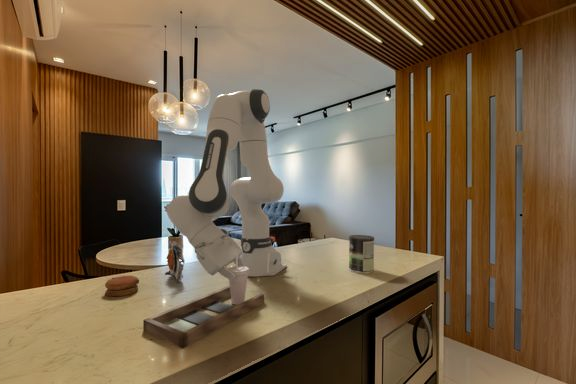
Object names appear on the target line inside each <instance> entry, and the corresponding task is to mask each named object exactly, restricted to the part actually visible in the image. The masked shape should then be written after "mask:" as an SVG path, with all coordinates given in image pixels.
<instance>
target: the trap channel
mask: <svg viewBox="0 0 576 384" xmlns="http://www.w3.org/2000/svg"><path fill="white" fill-rule="evenodd" d="M230 296H231V293H230V285H228V286H225V287H222V288H220V289H217V290H215V291H212V292H210V293H208V294H205V295H202V296H200V297H197V298H195V299H193V300H190V301H187V302H185V303H182V304H180V305H178V306H175V307H172V308H170V309H167V310H165V311H162V312H160V313H158V314H155V315H153V316H150V317H146V318H145V319H143V328H142V329H143V332H145V333H147V334H150V335H151V336H154V337H156V338H158V339H160V340H163V341H165V342H167V343H170V344H171V345H174V346H175V347H178V348H180V349H185V348H186V347H188V346H189V345H190V346H191V345H192V344H193V343H195V342H197V341H199V340H200V339H202V338H204V337H206V336H208V335H209V334H211V333H213V332H214V331H216V330H219V329H220V328H222V327H225V326H226V325H227V324H229V323H231V322H232V321H234V320H236V319H238V318H240V317H241V316H243V315H245V314H246V313H249V312H250V311H252V310H254V309H256V308H257V307H259V306H261V305H262V304H265V294H264V293H259V294H257V295H255V296H252V297H251V298H249V299H247V300H244V302H243V303H241V304H236V305H231V304H227V303H224V302H221V301H220V300H222V299H225V298H227V297H230ZM200 309H205V310H207V311H211V312H214V313H217V314H216V315H211V314H208V313H205V312H202V311H199V310H200Z"/></svg>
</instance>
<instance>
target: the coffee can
mask: <svg viewBox="0 0 576 384" xmlns="http://www.w3.org/2000/svg"><path fill="white" fill-rule="evenodd" d="M348 238H349V239H348V240H349V241H348V242H349V243H348V245H349V252H348V253H349V256H348V257H349V258H348V259H349V261H348V270H349V271H350V272H352V271H353V272H352V273H355V272H357V273H356V274H362V273H367V274H372V273H374V272H375V269H374V267H375V259H374V258H375V255H374V254H375V237H374V236H370V235H363V234H352V235H349V236H348ZM373 271H374V272H373ZM371 272H372V273H371Z"/></svg>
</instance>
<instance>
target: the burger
mask: <svg viewBox="0 0 576 384" xmlns="http://www.w3.org/2000/svg"><path fill="white" fill-rule="evenodd" d="M139 283H140V279H139V278H138V277H137V276H134V275H121V276H116V277H115V276H114V277H111V278H109V279H108V280H106V282H105V283H104V287H105V288H106V290H105V292H104V295H105V296H107V297H112V296H113V297H124V296H128V295H131V294H134V293H136V292H137V291H138V290H139V287H138V284H139Z"/></svg>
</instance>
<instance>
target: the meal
mask: <svg viewBox="0 0 576 384" xmlns="http://www.w3.org/2000/svg"><path fill="white" fill-rule="evenodd" d="M168 244H169V245H170V246H171V247H170V248H169V250H168V254H167V256H166V259H167V260H166V262H167V266H168V268H169V271H166V272H165V273H164V275H169V276H171V277H172V276H175V279H176V280H175V284H179V283H180V282H181V281H182V280H183V278H184V275H182V274H183V271H184V265H185V258H184V255H183V248H182V246H181V244H180V243H179V242H178V241H173V240H168Z"/></svg>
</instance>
